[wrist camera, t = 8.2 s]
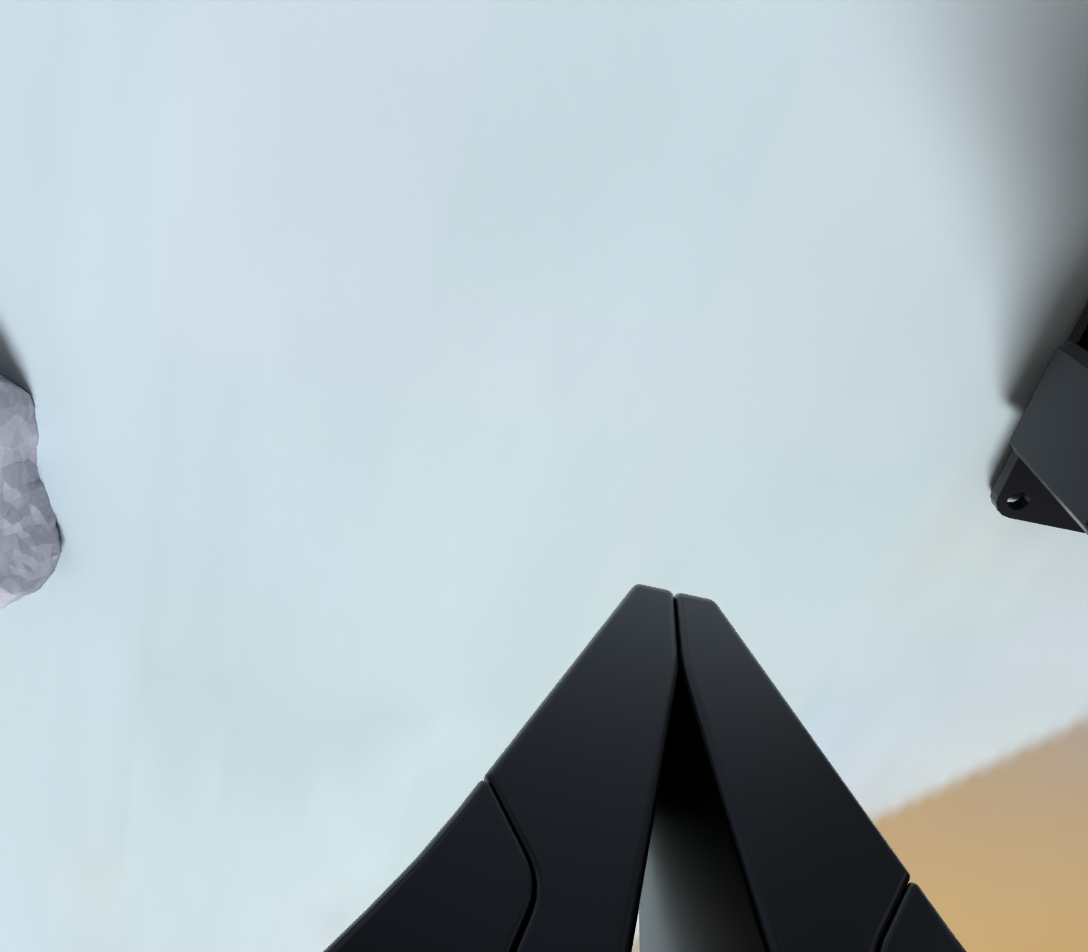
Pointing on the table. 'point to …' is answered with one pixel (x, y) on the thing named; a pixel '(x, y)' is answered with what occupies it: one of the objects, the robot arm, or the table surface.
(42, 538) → the stone block
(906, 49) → the table surface
